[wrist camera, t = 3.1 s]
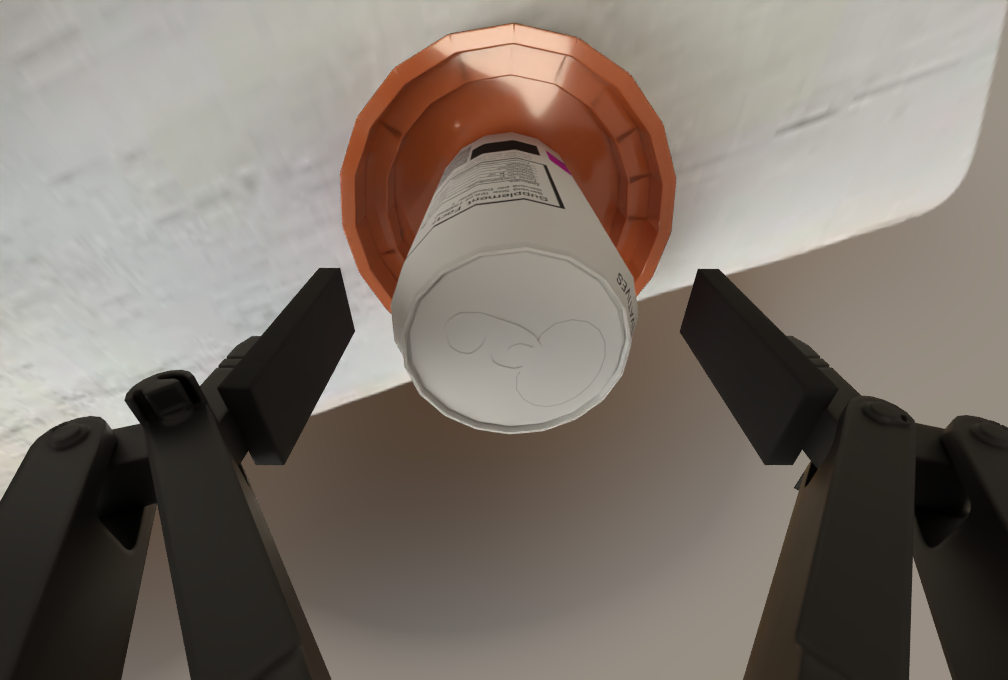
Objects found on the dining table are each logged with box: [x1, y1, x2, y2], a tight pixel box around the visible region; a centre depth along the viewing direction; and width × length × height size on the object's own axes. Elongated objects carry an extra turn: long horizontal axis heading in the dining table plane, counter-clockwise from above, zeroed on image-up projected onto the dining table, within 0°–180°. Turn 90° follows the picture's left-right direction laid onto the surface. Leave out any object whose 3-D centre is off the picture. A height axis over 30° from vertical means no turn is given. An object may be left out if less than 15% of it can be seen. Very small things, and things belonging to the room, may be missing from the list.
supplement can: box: [391, 132, 638, 434], centre depth 19 cm, size 8×8×15 cm
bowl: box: [340, 23, 676, 314], centre depth 24 cm, size 17×17×4 cm
